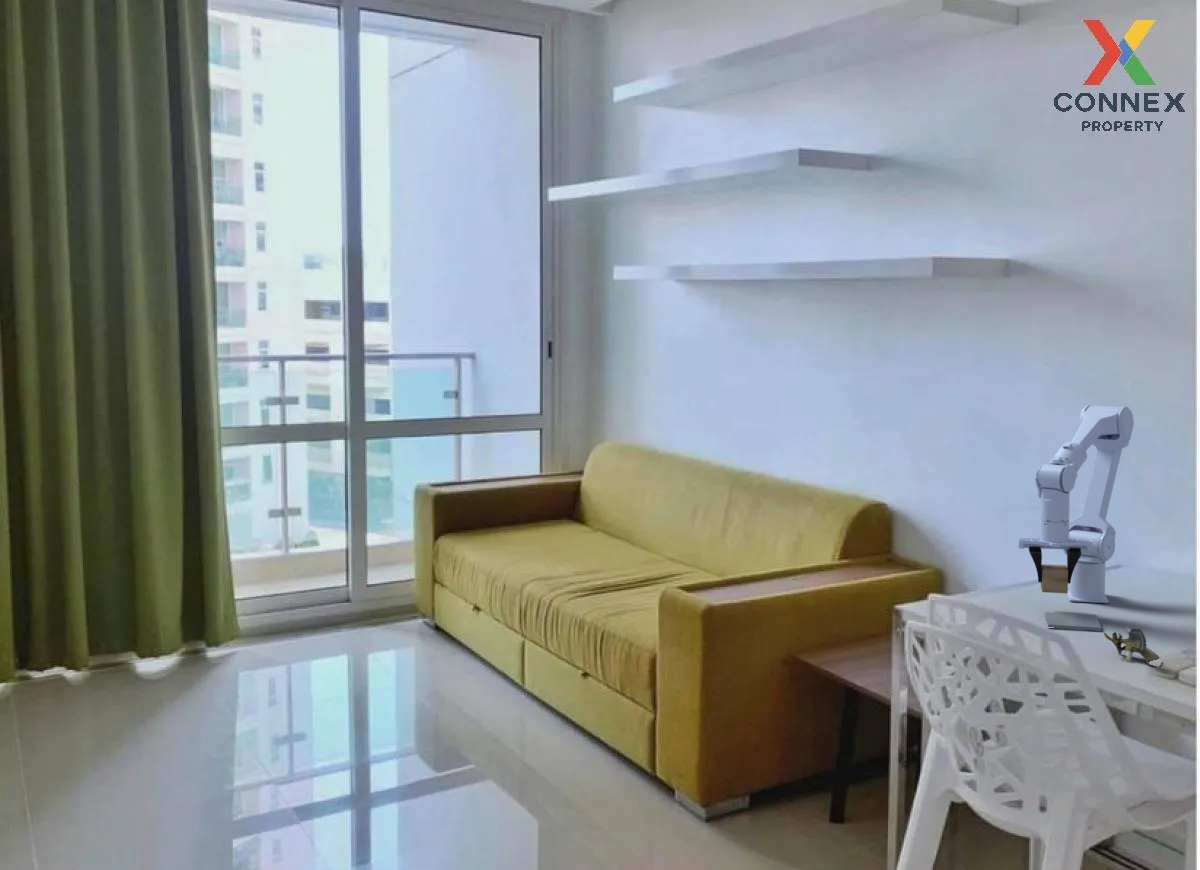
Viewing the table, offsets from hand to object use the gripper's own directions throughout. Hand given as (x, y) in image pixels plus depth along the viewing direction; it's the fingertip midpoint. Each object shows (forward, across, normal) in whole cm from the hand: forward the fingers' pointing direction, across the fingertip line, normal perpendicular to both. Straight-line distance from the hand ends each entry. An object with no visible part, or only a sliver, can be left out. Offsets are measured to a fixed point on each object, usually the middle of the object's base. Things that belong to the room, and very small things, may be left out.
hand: (1054, 581), depth 237 cm
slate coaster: (+6, +3, -9) cm, 12 cm away
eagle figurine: (+7, +12, -32) cm, 35 cm away
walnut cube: (+2, 0, 0) cm, 2 cm away
